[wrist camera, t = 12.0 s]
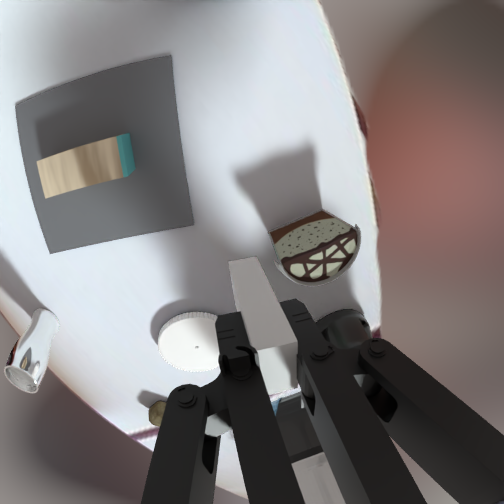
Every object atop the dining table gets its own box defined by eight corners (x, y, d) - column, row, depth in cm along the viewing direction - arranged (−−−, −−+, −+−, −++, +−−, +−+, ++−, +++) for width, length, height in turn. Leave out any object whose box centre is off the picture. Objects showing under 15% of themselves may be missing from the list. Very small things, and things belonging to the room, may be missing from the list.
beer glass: (29, 302, 40) (-3, 359, 27) (60, 310, 42) (34, 372, 29) (34, 330, 43) (9, 386, 30) (63, 338, 45) (43, 398, 32)
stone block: (156, 397, 57) (156, 415, 53) (199, 409, 62) (201, 426, 57) (147, 408, 58) (147, 425, 54) (188, 419, 63) (190, 435, 59)
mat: (171, 56, 29) (170, 55, 29) (193, 223, 41) (193, 224, 40) (16, 105, 26) (15, 105, 26) (51, 252, 37) (50, 253, 37)
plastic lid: (244, 316, 51) (247, 325, 49) (220, 366, 56) (222, 376, 54) (167, 300, 46) (166, 309, 44) (152, 355, 51) (152, 365, 49)
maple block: (121, 135, 28) (36, 161, 27) (128, 176, 31) (45, 198, 29) (129, 132, 33) (52, 155, 31) (135, 168, 35) (59, 188, 33)
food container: (271, 267, 47) (290, 304, 38) (258, 235, 44) (277, 268, 35) (338, 237, 47) (369, 267, 38) (330, 205, 44) (363, 230, 35)
